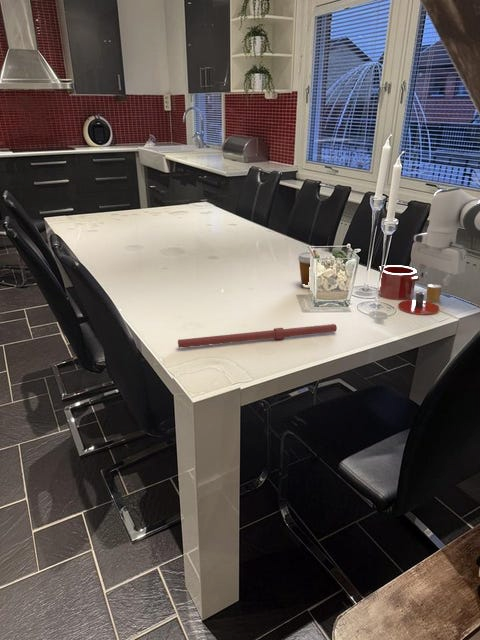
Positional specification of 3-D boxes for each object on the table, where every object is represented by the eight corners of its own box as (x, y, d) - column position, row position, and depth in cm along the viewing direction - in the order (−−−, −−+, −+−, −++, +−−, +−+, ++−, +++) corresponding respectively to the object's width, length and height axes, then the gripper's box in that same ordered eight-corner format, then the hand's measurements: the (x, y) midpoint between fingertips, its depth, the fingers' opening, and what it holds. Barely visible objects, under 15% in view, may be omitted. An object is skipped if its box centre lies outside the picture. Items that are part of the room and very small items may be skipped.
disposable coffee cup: (298, 290, 172) (299, 258, 167) (296, 282, 181) (296, 252, 176) (324, 289, 172) (326, 257, 167) (320, 282, 180) (322, 251, 176)
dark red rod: (333, 330, 136) (333, 320, 134) (337, 334, 133) (338, 324, 132) (178, 346, 127) (177, 336, 126) (179, 351, 124) (178, 340, 123)
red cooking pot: (392, 287, 172) (394, 262, 169) (426, 300, 158) (430, 273, 154) (366, 291, 168) (368, 266, 165) (399, 306, 154) (402, 278, 150)
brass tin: (432, 298, 160) (434, 283, 158) (442, 302, 156) (444, 286, 154) (422, 300, 158) (424, 285, 156) (432, 304, 154) (434, 288, 152)
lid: (418, 301, 158) (421, 285, 156) (448, 313, 147) (450, 295, 145) (389, 307, 153) (391, 290, 151) (417, 319, 142) (419, 302, 140)
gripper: (474, 245, 142) (466, 288, 147) (424, 233, 159) (419, 272, 164) (459, 247, 139) (452, 291, 144) (410, 235, 157) (405, 274, 162)
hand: (434, 281), depth 155 cm, fingers open, 8 cm apart
